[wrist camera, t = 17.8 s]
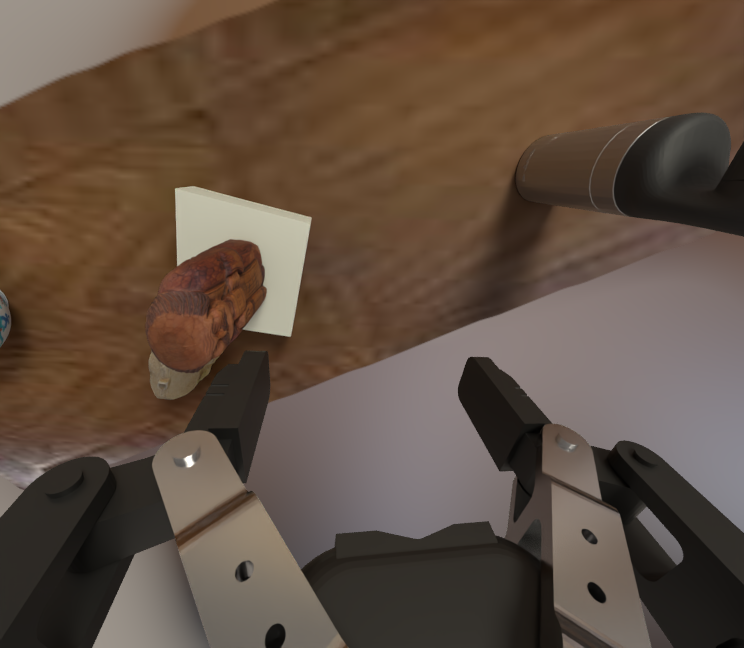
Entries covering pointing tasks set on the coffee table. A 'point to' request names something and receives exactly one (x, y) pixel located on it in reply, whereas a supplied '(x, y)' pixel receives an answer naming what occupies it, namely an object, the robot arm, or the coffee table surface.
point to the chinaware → (4, 318)
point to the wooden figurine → (205, 305)
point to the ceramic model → (174, 379)
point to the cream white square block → (255, 224)
